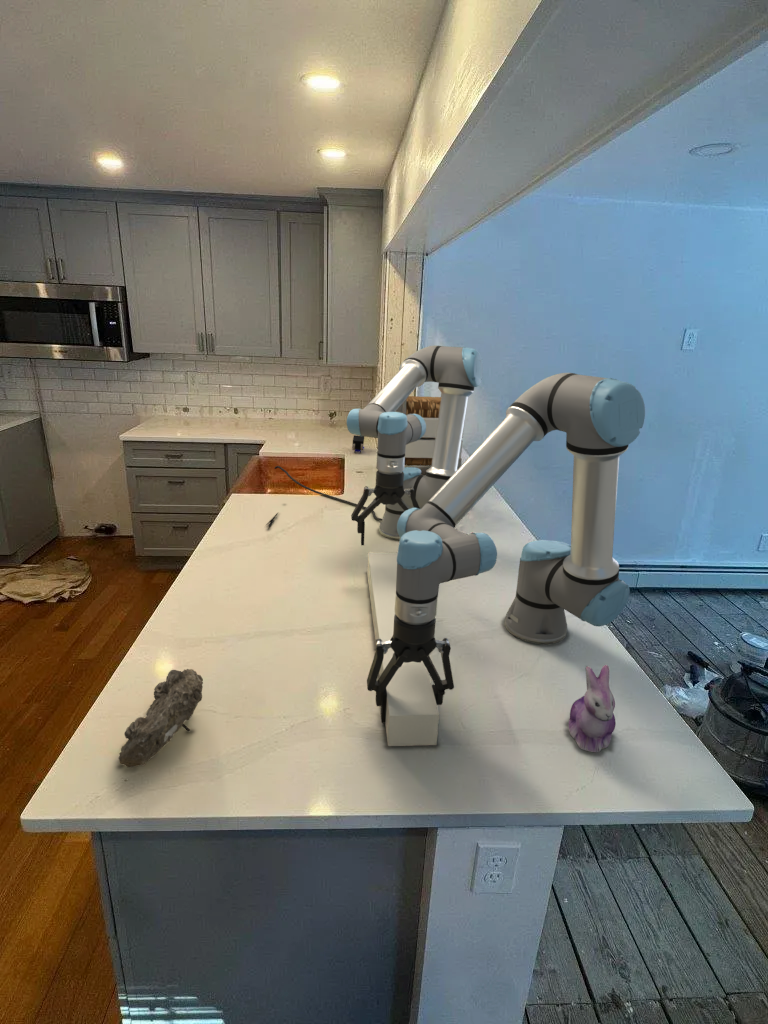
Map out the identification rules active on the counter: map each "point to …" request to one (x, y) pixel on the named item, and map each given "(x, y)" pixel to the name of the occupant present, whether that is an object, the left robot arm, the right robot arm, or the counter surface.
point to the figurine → (594, 713)
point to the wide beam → (411, 686)
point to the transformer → (424, 447)
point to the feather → (271, 521)
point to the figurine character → (358, 443)
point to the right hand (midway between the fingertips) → (407, 717)
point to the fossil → (162, 717)
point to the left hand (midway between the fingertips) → (386, 543)
